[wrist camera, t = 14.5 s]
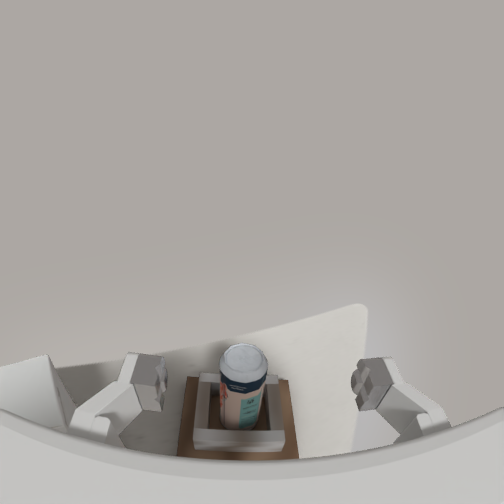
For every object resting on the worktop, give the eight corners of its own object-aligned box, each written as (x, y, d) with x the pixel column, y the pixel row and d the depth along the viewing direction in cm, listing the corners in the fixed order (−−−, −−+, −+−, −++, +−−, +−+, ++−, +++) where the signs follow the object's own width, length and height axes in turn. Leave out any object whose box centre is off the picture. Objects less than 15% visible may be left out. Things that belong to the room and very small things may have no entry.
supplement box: (117, 486, 23) (65, 427, 16) (54, 502, 18) (-20, 445, 11) (92, 428, 30) (49, 351, 23) (37, 443, 25) (-22, 369, 18)
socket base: (178, 462, 28) (173, 448, 26) (188, 382, 39) (185, 362, 37) (296, 465, 29) (304, 451, 27) (286, 386, 40) (291, 366, 38)
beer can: (232, 398, 36) (235, 333, 31) (264, 413, 34) (277, 351, 29) (212, 423, 32) (209, 362, 27) (246, 440, 30) (254, 383, 25)
